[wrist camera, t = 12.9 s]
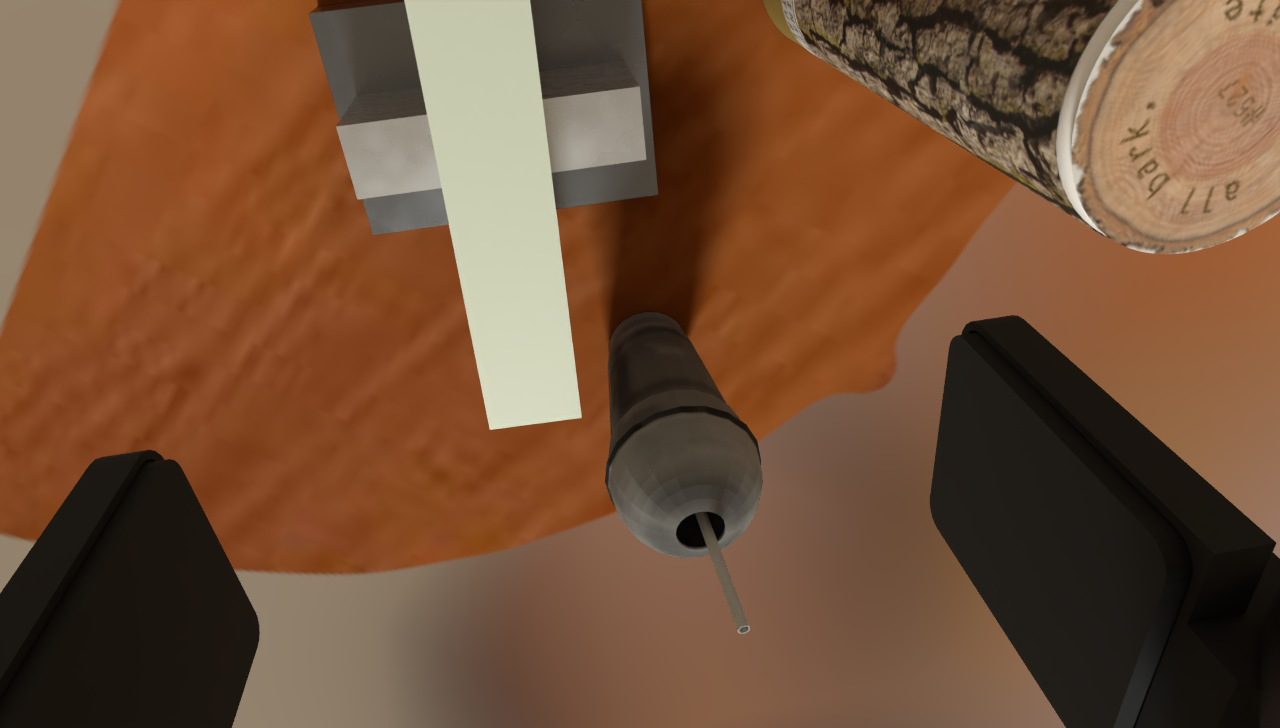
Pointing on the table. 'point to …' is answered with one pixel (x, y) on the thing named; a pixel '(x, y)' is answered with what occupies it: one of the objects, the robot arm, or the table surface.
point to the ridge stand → (571, 93)
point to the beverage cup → (677, 449)
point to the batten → (499, 201)
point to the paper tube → (1084, 100)
